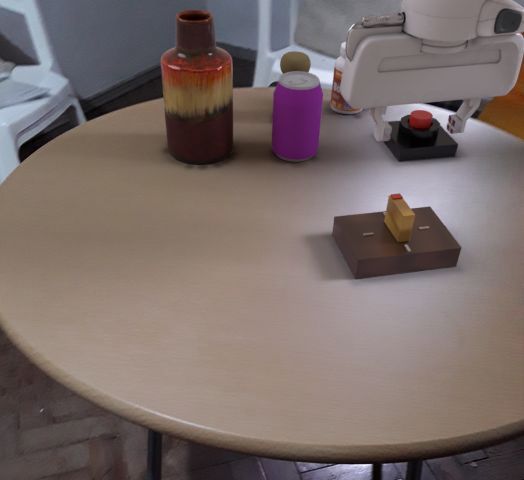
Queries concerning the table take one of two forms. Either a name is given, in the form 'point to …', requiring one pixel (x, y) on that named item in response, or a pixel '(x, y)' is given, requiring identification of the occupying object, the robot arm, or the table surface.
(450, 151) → the box
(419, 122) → the bell button
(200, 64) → the vase
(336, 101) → the pill bottle
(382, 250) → the plate
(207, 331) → the table surface
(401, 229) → the thumb turn
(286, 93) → the beverage can
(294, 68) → the cork
